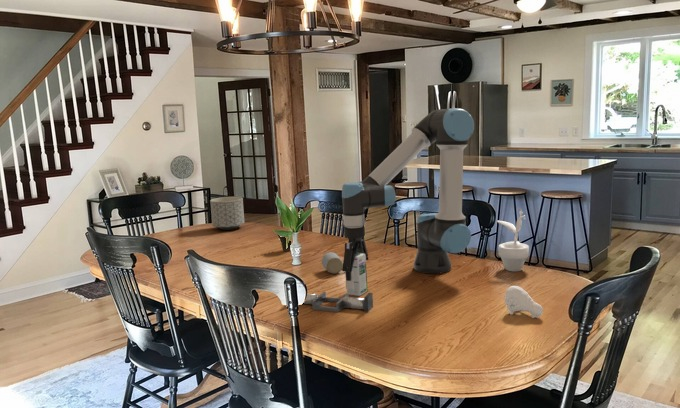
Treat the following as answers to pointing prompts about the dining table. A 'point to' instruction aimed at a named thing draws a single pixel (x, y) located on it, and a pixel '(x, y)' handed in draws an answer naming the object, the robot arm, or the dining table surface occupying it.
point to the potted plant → (513, 248)
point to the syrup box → (359, 275)
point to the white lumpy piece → (521, 302)
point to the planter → (227, 212)
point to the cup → (283, 242)
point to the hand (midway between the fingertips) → (356, 283)
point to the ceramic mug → (332, 263)
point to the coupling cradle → (340, 302)
